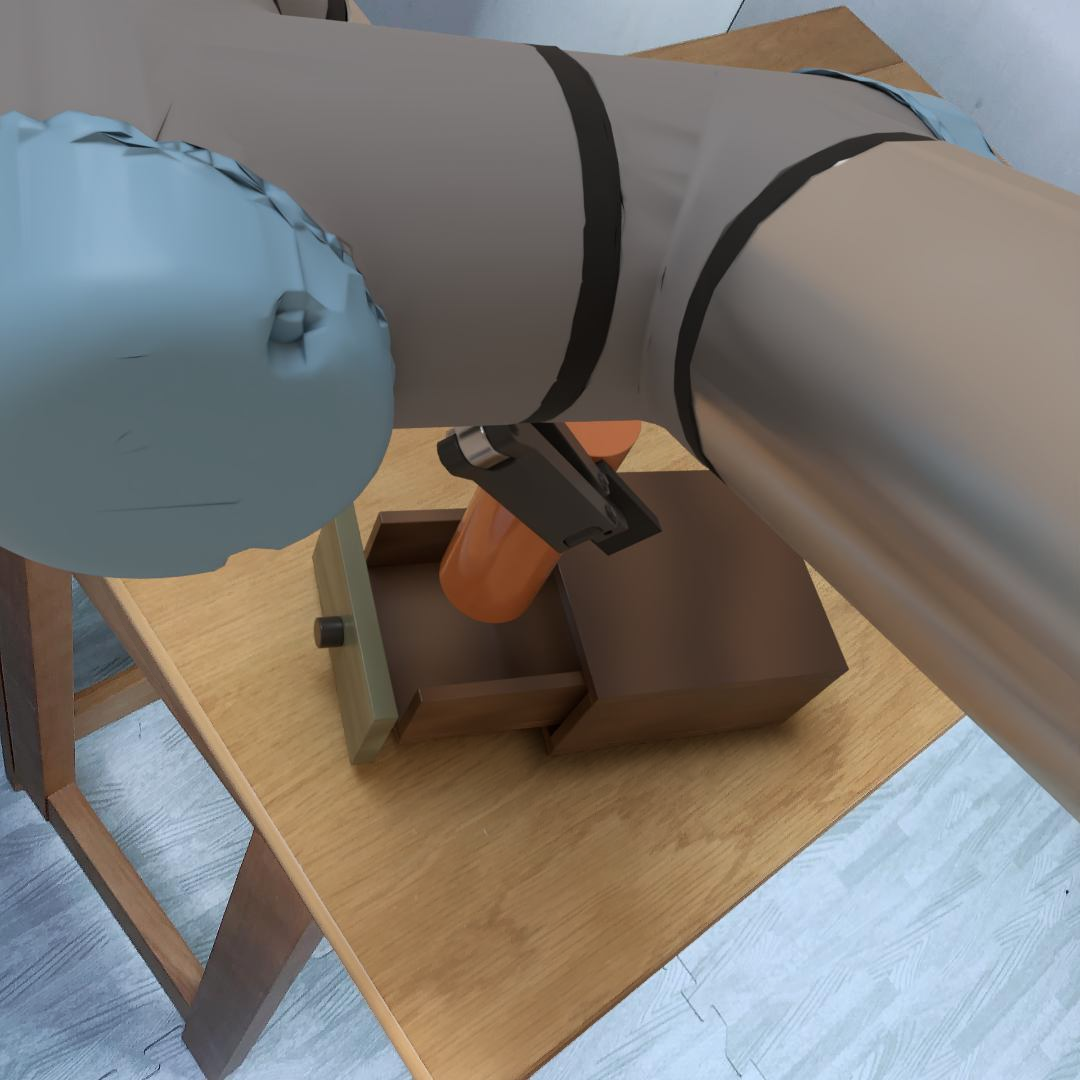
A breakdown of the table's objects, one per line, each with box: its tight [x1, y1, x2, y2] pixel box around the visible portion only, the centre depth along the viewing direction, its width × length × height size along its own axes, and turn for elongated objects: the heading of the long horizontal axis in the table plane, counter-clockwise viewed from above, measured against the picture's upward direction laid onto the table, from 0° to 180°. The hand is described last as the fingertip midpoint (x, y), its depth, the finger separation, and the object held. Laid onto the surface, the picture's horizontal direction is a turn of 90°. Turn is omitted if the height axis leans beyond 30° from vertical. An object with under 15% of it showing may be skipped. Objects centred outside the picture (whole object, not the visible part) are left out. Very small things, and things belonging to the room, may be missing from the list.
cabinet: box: [540, 469, 850, 756], centre depth 67 cm, size 16×14×8 cm
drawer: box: [311, 502, 589, 766], centre depth 62 cm, size 16×12×6 cm
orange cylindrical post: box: [439, 420, 642, 623], centre depth 53 cm, size 5×5×14 cm
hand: (614, 483), depth 53 cm, fingers closed on orange cylindrical post, 5 cm apart
